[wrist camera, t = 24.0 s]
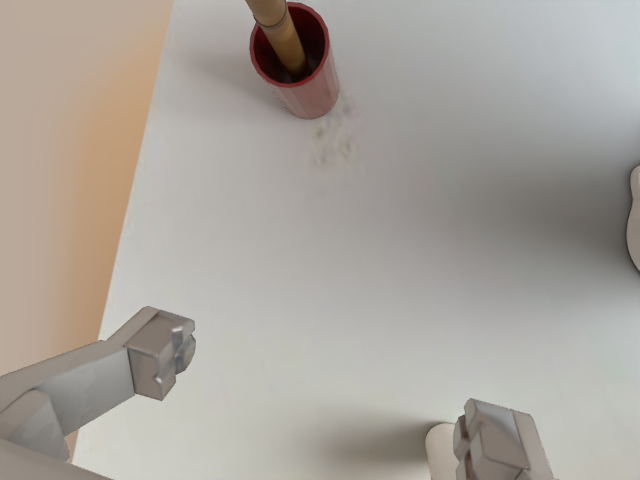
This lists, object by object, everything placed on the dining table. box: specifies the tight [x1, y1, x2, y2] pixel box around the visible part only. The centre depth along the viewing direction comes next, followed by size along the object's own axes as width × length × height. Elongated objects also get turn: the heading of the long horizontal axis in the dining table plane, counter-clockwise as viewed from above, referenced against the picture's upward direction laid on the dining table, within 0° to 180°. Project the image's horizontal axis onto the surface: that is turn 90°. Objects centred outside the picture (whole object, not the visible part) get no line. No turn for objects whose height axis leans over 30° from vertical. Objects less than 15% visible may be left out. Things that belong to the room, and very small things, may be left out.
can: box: [249, 2, 339, 119], centre depth 35 cm, size 7×7×12 cm
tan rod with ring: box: [245, 0, 313, 83], centre depth 29 cm, size 2×2×21 cm
